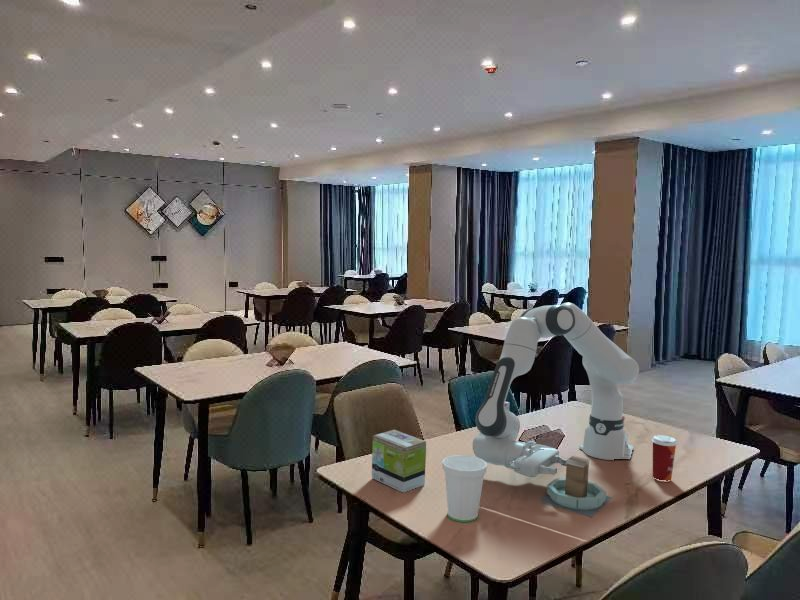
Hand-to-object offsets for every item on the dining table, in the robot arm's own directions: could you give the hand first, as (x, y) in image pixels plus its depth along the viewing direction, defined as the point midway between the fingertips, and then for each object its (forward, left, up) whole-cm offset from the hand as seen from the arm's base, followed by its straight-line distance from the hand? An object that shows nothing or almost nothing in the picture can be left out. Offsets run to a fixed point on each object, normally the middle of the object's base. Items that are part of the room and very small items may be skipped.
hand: (561, 467), depth 181 cm
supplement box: (-49, -46, -9) cm, 69 cm away
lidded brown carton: (0, +5, -8) cm, 9 cm away
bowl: (0, +5, -9) cm, 10 cm away
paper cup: (-36, +21, -9) cm, 43 cm away
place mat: (0, +5, -9) cm, 10 cm away
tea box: (+24, -44, -9) cm, 51 cm away
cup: (+31, -16, -9) cm, 36 cm away
